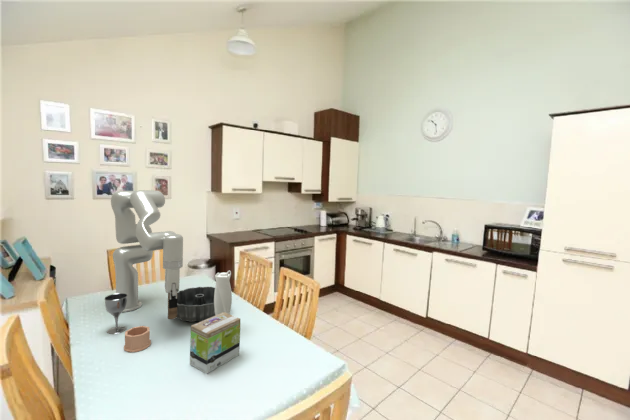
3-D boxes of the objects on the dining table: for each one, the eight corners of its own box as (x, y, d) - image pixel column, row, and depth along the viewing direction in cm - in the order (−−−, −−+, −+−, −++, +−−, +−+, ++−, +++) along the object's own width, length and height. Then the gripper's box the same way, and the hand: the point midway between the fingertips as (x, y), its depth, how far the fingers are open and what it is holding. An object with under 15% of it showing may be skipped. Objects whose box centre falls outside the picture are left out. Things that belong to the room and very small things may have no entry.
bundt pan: (212, 299, 163) (213, 282, 162) (237, 316, 145) (237, 296, 144) (162, 313, 145) (161, 293, 144) (182, 333, 126) (182, 311, 125)
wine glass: (116, 335, 122) (115, 301, 121) (100, 333, 123) (99, 298, 122) (132, 327, 130) (131, 294, 128) (116, 324, 131) (116, 292, 130)
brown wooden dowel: (167, 316, 126) (167, 284, 124) (176, 314, 127) (177, 283, 126) (168, 319, 123) (168, 287, 121) (177, 318, 124) (177, 286, 123)
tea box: (207, 375, 99) (207, 333, 98) (189, 365, 104) (189, 325, 103) (240, 354, 112) (241, 317, 111) (222, 346, 117) (223, 310, 116)
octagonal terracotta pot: (124, 343, 117) (124, 328, 116) (150, 337, 121) (150, 323, 121) (123, 354, 109) (122, 339, 108) (151, 348, 114) (151, 333, 113)
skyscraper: (235, 332, 128) (236, 270, 126) (219, 338, 123) (220, 273, 120) (225, 326, 133) (226, 266, 131) (210, 331, 128) (210, 269, 126)
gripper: (161, 259, 128) (161, 300, 130) (164, 270, 114) (163, 315, 115) (180, 258, 132) (180, 297, 133) (185, 268, 118) (184, 312, 119)
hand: (172, 305), depth 124 cm, fingers closed on brown wooden dowel, 3 cm apart
